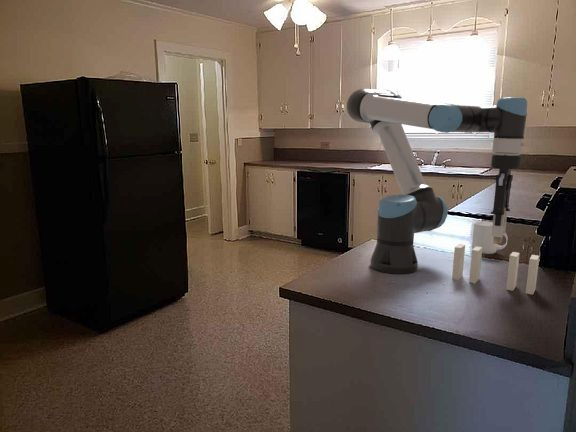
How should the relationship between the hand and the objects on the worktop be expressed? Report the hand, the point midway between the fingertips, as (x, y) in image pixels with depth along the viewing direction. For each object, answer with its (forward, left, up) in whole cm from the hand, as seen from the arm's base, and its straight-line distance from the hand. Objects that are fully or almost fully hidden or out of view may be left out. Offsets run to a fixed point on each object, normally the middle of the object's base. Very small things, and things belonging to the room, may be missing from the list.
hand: (498, 234), depth 127 cm
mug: (+19, +31, -15) cm, 40 cm away
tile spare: (0, 0, -2) cm, 2 cm away
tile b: (-5, +2, -15) cm, 16 cm away
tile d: (+6, -8, -15) cm, 18 cm away
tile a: (-8, +6, -15) cm, 18 cm away
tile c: (+2, -5, -15) cm, 16 cm away
